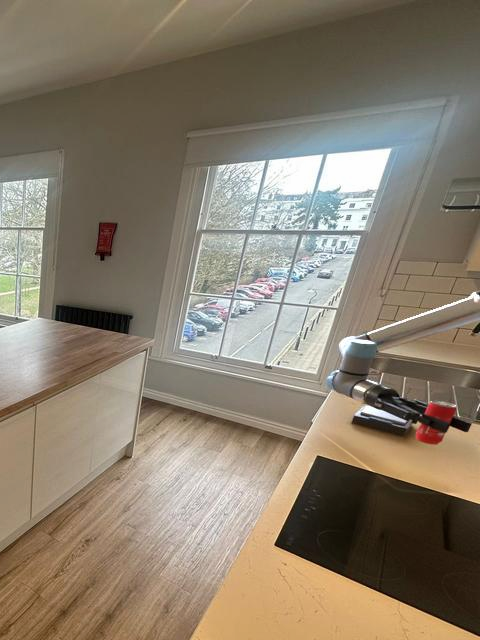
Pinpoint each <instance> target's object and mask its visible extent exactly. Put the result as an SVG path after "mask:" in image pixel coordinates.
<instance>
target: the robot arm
mask: <svg viewBox="0 0 480 640" xmlns="http://www.w3.org/2000/svg"><path fill="white" fill-rule="evenodd" d="M478 321H480V290H477V291H475V292H472V294H471V295H470V296H469V297H468V298H465V299H461V300H458V301H456V302H453V303H451V304H447V305H444V306H442V307H439V308H436V309H433V310H430V311H427V312H424V313H421V314H419V315H416V316H413V317H410V318H407V319H404V320H402V321H398V322H396V323H392V324H390V325H387V326H384V327H381V328H379V329H376V330H372V331H370V332H366V333H365V334H361V335H358V336H356V335H355V336H354V335H353V336H347V337H345V338H343V339H342V340H341V341H340V342H339V343H338V353H339V354H340V355H341V363H340V367H339V369H338V370H334V371H333V372H331V373H330V374H329V376H327V377H326V381H325V382H326V386H327V387H328V388H329V389H330V390H332V391H334V392H336V393H337V394H340V395H343V396H346V397H347V398H350V399H352V400H355V401H358V402H359V403H361V404H362V405H366V406H368V405H369V406H371V407H373V408H376V409H378V410H383V411H385V412H387V413H389V414H392V415H394V416H396V417H399V418H401V419H403V420H406V421H409V420H412V422H411V423H413V424H412V425H417V423H422V424H424V425H427V426H429V427H431V428H434V429H436V430H439V431H441V432H443V433H445V434H447V433H448V431H449V429H450V427H451V428H453V429H456V430H459V431H461V432H464V433H468V432H469V430H470V429H471V426H472V424H473V423H472V422H470V421H467V420H465V419H462V418H459V417H456V416H455V415H454V416H453V418H452V420H451V422H450V423H447V422H445V421H442V420H439V419H437V418H434V417H432V416H429V415H427V414H425V411H426V409H427V407H428V404H429V403H427V402H425V401H423V400H421V399H418V398H415V399H413V400H411V399H408V398H407V397H404V396H400V394H399V391H397V390H396V389H395V388H392V387H389V386H386V385H383V384H381V383H379V382H376V381H373V380H369V379H368V376H369V373H370V370H371V367H372V365H373V362H374V360H375V357H376V355H377V353H380V352H383V351H387V350H389V349H392V348H396V347H399V346H402V345H406V344H408V343H412V342H414V341H417V340H421V339H424V338H428V337H431V336H433V335H436V334H440V333H443V332H446V331H450V330H452V329H455V328H459V327H462V326H466V325H468V324H471V323H475V322H478Z"/></svg>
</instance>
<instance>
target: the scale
mask: <svg viewBox="0 0 480 640" xmlns="http://www.w3.org/2000/svg"><path fill="white" fill-rule="evenodd" d="M411 422H412V420H409V421H406V420H403V419H401V418H399V417H396V416H394V415H392V414H389V413H387V412H385V411H383V410H378V409H376V408H373V407H371V406H369V405H363V406H362V407H361V408H360V409H359V410H358V411H357V412H356V413H355V414H354V415H353V417H352V420H351V422H350V423H352V424H354V425H358V426H363V427H365V428H370V429H373V430H377V431H380V432H383V433H389V434H392V435H395V436H399V437H405V435H406V434H407V433H408V432H409V430H410V429H411V427H412V426H413V425H414V424H413V423H411Z"/></svg>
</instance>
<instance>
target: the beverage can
mask: <svg viewBox="0 0 480 640" xmlns="http://www.w3.org/2000/svg"><path fill="white" fill-rule="evenodd" d="M456 412H457V405H456V404H454V403H452V402H448V401H444V400H438V399H437V400H435V399H433V400H431V401H430V402H429V403H428V407H427V409H426V411H425V414H427V415H429V416H432V417H434V418H437V419H439V420H442V421H445V422H447V423H450V422H451V420H452V418H453V416H454V417H455V414H456ZM445 435H446V433H443V432H441V431H439V430H436V429H434V428H431V427H429V426H427V425H424V424H422V423H420V424H419V426H418V428H417V430H416V433H415V439H416V441H418V442H420V443H423V444H427V445H432V446H436V445H439V444H440V443H441V442H443V439H444V438H445Z"/></svg>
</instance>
